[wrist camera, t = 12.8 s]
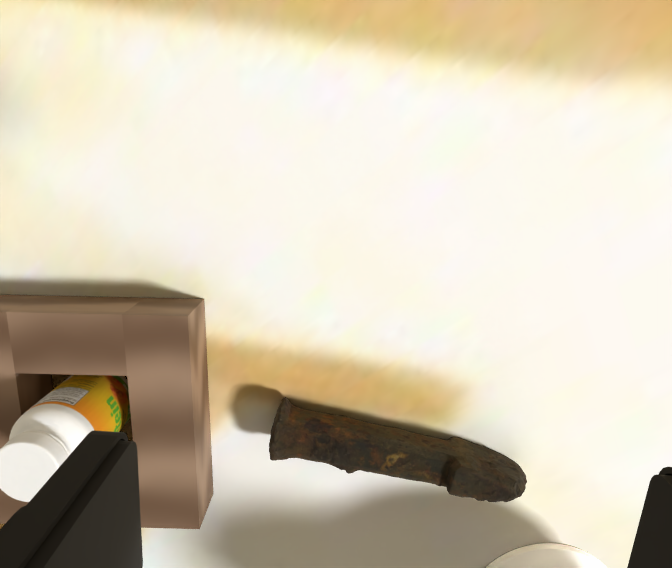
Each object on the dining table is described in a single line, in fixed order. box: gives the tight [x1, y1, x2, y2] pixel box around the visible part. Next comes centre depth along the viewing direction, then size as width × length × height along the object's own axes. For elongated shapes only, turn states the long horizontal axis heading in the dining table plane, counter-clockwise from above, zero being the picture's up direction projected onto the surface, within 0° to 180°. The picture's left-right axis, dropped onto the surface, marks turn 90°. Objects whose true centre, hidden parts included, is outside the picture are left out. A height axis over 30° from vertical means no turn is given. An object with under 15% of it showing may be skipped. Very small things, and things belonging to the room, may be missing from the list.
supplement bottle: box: [0, 375, 131, 502], centre depth 35 cm, size 5×5×10 cm
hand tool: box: [269, 397, 527, 502], centre depth 38 cm, size 19×4×5 cm, turn 76°
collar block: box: [0, 295, 213, 529], centre depth 38 cm, size 16×16×4 cm
